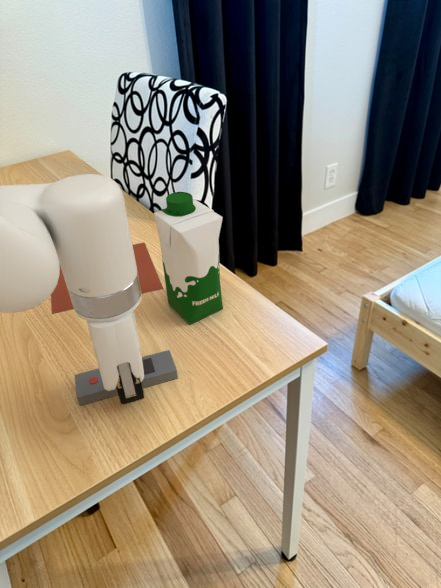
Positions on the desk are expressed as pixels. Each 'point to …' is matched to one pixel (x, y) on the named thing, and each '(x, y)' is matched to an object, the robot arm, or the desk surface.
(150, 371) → the remote
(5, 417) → the desk surface
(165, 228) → the milk carton
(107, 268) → the robot arm
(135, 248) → the mat
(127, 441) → the desk surface
